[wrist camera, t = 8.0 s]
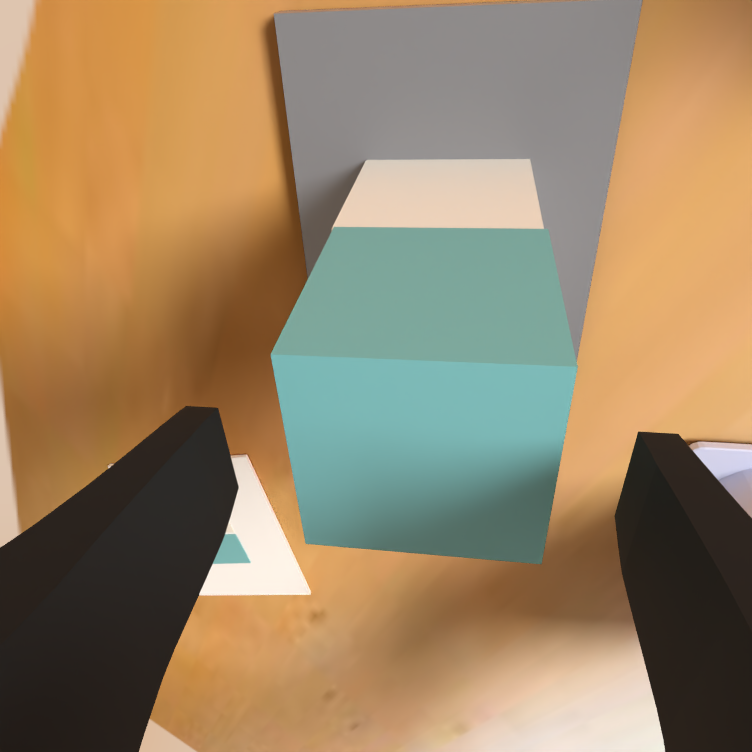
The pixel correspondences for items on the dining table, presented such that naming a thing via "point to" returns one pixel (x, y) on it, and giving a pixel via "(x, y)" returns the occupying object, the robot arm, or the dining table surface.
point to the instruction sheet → (253, 546)
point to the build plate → (463, 106)
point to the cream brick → (443, 195)
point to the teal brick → (428, 391)
